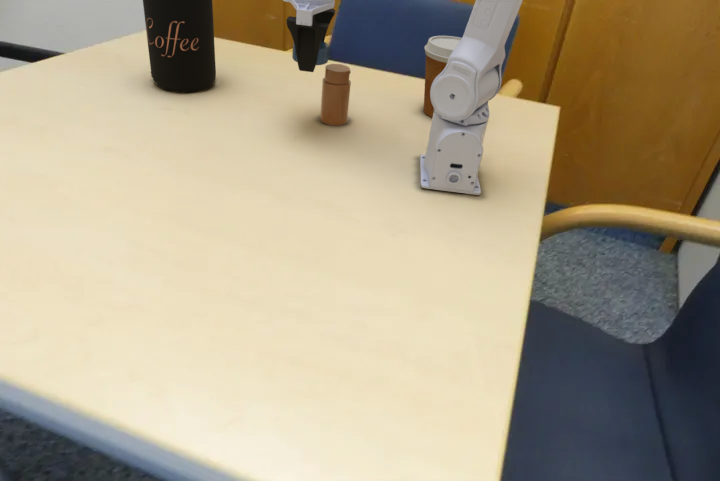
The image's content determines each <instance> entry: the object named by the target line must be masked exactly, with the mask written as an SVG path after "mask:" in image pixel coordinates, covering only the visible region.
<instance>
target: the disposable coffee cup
mask: <svg viewBox="0 0 720 481" xmlns="http://www.w3.org/2000/svg"><path fill="white" fill-rule="evenodd" d="M461 39H462V37H459V36H454V35H435V36H431V37H429V38H428V40H427V42H426V44H425V45H424V47H423V50H424V52H425V53H424V54H425V71H424V72H425V74H424V92H423V93H424V95H423V112H424V114H425V115H427V116H428V117H430V118H433V112H434V107H433V105H432V103H431V99H430V89H431V85H432V83H433V81H434V79H435V78H436V77H437V76H438V75H439V74H440V73H441V72H442V71H443V70H444V68H445V67H446V65H447V62H448V59H449V57H450V55H451V53H452V52H453V50H454V49H455V47H456V46H457V45H458V43H459V42H460V40H461Z"/></svg>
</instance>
